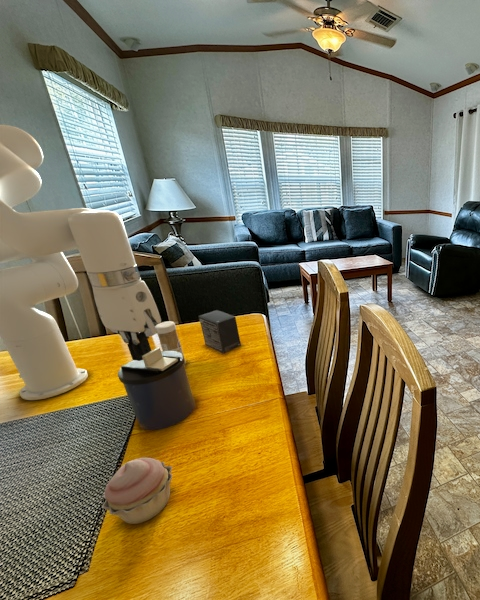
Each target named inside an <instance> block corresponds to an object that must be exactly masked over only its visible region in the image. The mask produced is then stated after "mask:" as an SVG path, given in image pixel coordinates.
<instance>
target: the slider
mask: <svg viewBox="0 0 480 600" xmlns="http://www.w3.org/2000/svg"><path fill="white" fill-rule="evenodd" d="M161 351H162V349H161V348H160V347H155V348H154V349H151V351H150V352H149V353H147V354H145V355H143V356H142V358H143V361H144V363H145V368H151V369H159V371H163V370H165V369H167V368H168V367H170V366H171V365H173V364H174V363H176V362H177V361H178V359H175V358H167V357H163V356H162V353H161Z"/></svg>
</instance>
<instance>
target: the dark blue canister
mask: <svg viewBox="0 0 480 600" xmlns="http://www.w3.org/2000/svg"><path fill="white" fill-rule="evenodd" d="M161 353H162V356H163V357H167V358H175V359H178V361H177V362H176V363H174V364H173V365H171V366H170V367H168V368H167V369H165V370H163V371H159V369H151V368H145V363H144V361H143V360H141V361H137V360H133V359H132V360H130V361H128V362H127V363H125V364H121V365H120V369H119V370H118V372H117V377H118V380H119V381H120V383H122V384H123V387H124V389H125V392H126V395H127V397H128V400H129V403H130V405H131V407H132V410H133V413H134V415H135V418H136V420H137V423H138V426H139V427H140V428H141V429H143V430H146V431H157V430H158V431H159V430H162V429H166V428H169V427H172V426H174V425H177V424H179V423H180V422H182V421H184V420H185V419H187V418H188V417H189V416H190V415H191V414H192V413H193V412H194V410H195V408H196V401H195V398H194V394H193V391H192V387H191V384H190V381H189V378H188V374H187V370H186V368H185V367H186V366H184V359H185V357H184V358H183V355H184V354H183V355H182V354H181V353H180V352H177V351H163V350H161Z"/></svg>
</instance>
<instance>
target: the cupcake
mask: <svg viewBox="0 0 480 600" xmlns="http://www.w3.org/2000/svg"><path fill="white" fill-rule="evenodd" d="M172 469H173V466H171V465H165V462H164V461H160V460H159V459H156V458H153V457H145V456H143V457H139V458H135V459H132V460H129V461H127V462H125V463H124V464H123V465H121V466H120V468H118V470H117V471H115V473H114V475H113V476H112V477H111V478H110V479H109V481H108V483H107V484H106V486H105V488H104V492H103V495H102V498H104V499H105V501H104V502H103V503H102V506H101V509H104V510H107V511H109V515H113V516H116V517H118V518H120V519H121V520H122V521H123V522H124V523H125V524H130V525H138V524H142V523H145V522H147V521H149V520H152V519H153V518H154V517H156V516H157V515H158V514H160V513H161V512H162V511H163V510H164V508H165V507H166V506H167V504H168V503H169V500H170V496H171V482H172V478H173V474H172Z"/></svg>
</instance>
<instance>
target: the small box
mask: <svg viewBox="0 0 480 600" xmlns="http://www.w3.org/2000/svg"><path fill="white" fill-rule="evenodd" d="M197 317H198V320H199V323H200V327H201V332H202V334H203V336H202V337H203V340H204V345H205V346H206V347H208V348H210V349H212V350H214V351H216V352H218V353H221V354H226V353H229V352H231V351H233V350H235V349H237V348H240V347H241V346H242V343H241V338H240V334H239V328H238V324H237V318H236V316H235V315H232V314H229V313H226V312H224V311H221V310H218V309H216V310H213V311H210V312H207V313H204V314H200V315H198V316H197Z"/></svg>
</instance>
